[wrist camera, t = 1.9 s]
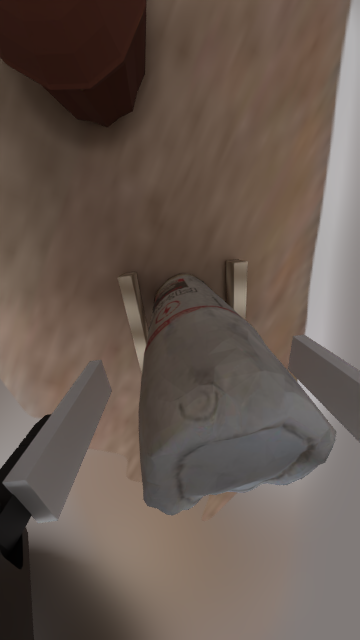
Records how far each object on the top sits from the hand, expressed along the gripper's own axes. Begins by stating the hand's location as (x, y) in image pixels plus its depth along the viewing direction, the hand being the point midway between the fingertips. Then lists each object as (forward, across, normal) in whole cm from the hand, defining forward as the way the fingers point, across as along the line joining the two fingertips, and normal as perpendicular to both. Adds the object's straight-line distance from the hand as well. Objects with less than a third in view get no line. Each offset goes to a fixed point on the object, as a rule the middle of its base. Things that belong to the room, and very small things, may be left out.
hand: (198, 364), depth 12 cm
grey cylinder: (+13, 0, 0) cm, 13 cm away
